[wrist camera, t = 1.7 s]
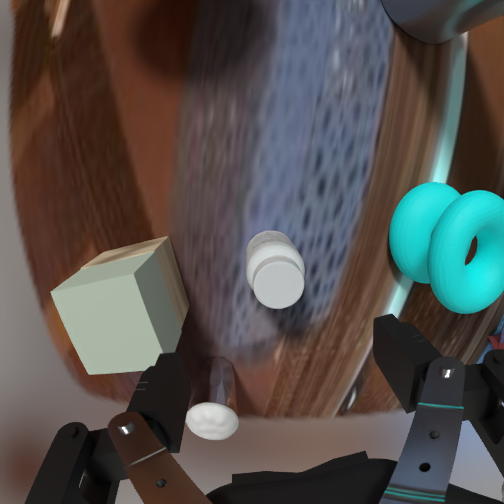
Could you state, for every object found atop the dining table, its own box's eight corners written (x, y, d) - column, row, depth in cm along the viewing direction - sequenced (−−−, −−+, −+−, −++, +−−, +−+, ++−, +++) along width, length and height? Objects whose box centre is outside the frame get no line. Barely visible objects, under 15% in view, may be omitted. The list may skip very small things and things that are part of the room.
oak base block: (169, 235, 27) (154, 250, 23) (189, 305, 29) (180, 331, 24) (103, 252, 28) (80, 268, 23) (126, 316, 29) (108, 341, 25)
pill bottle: (283, 282, 29) (296, 323, 21) (238, 267, 28) (236, 304, 21) (302, 239, 28) (322, 267, 20) (256, 222, 27) (260, 244, 20)
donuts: (521, 180, 16) (523, 292, 19) (453, 171, 26) (464, 259, 29) (432, 213, 17) (442, 339, 20) (374, 195, 27) (392, 290, 29)
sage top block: (155, 251, 23) (133, 273, 18) (181, 331, 24) (169, 367, 20) (81, 269, 23) (50, 292, 18) (110, 342, 25) (88, 374, 20)
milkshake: (188, 348, 30) (170, 416, 21) (240, 352, 31) (239, 422, 21) (190, 381, 32) (175, 449, 22) (238, 385, 32) (237, 455, 22)
